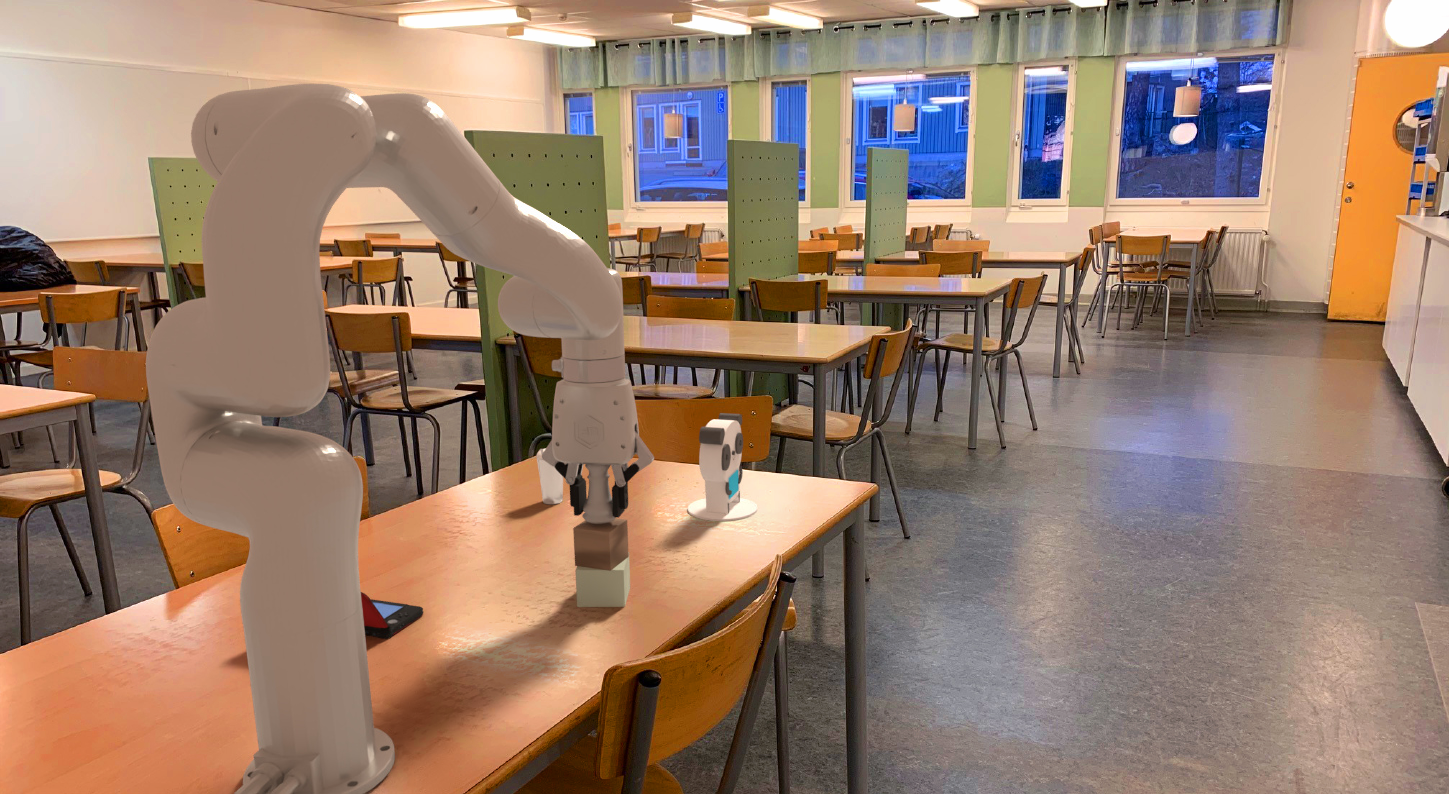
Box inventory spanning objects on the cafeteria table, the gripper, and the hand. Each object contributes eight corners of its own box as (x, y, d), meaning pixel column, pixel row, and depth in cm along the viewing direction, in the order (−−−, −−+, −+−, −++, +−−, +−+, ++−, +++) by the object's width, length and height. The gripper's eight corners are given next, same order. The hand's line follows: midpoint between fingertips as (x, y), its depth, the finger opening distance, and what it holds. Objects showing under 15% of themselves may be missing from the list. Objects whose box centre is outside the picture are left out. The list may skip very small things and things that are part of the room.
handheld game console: (428, 615, 120) (423, 559, 119) (370, 654, 110) (364, 593, 109) (345, 603, 124) (340, 548, 123) (282, 639, 114) (275, 580, 113)
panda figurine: (744, 525, 150) (743, 431, 147) (676, 518, 154) (674, 426, 151) (765, 501, 161) (765, 413, 158) (701, 496, 165) (699, 410, 162)
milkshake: (531, 506, 161) (528, 447, 159) (546, 496, 166) (543, 439, 164) (556, 508, 159) (553, 449, 157) (571, 498, 164) (568, 441, 162)
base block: (624, 607, 122) (623, 570, 120) (577, 607, 122) (575, 570, 121) (630, 588, 127) (629, 552, 126) (584, 588, 128) (583, 552, 126)
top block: (610, 570, 120) (609, 532, 119) (575, 565, 122) (573, 528, 121) (628, 556, 125) (627, 519, 124) (594, 552, 127) (592, 515, 126)
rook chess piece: (611, 525, 120) (609, 462, 118) (577, 523, 121) (574, 461, 119) (622, 514, 124) (620, 453, 122) (589, 512, 125) (586, 452, 123)
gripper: (516, 374, 116) (525, 520, 120) (653, 377, 113) (657, 526, 117) (539, 363, 123) (546, 501, 127) (668, 366, 120) (671, 506, 124)
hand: (599, 511), depth 122 cm, fingers closed on rook chess piece, 4 cm apart
